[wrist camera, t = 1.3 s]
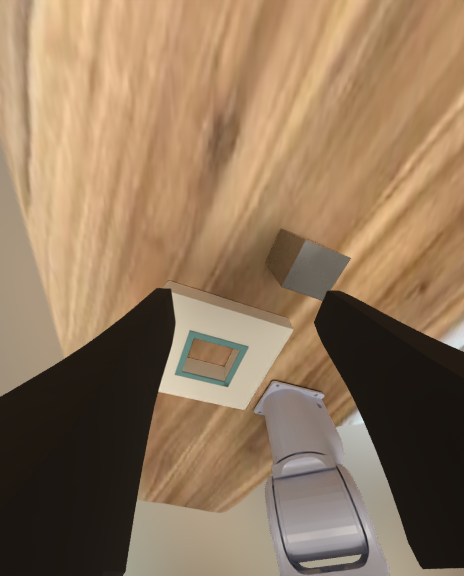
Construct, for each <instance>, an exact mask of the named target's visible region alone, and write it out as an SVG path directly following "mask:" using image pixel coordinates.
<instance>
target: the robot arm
mask: <svg viewBox="0 0 464 576" xmlns="http://www.w3.org/2000/svg"><path fill="white" fill-rule="evenodd" d="M314 324H315V327H316V329H317V332H318V334H319V337H320V339H321V341H322V343H323V345H324V347H325V349H326V351H327V352H328V354H329V356H330V358H331V359H332V361H333V363H334V365H335V366H336V368H337V370H338V372H339V373H340V375H341V377H342V378H343V380H344V382H345V384H346V385H347V387H348V389H349V391H350V393H351V395H352V397H353V399H354V401H355V403H356V405H357V408H358V410H359V412H360V414H361V416H362V418H363V421H364V423H365V425H366V428H367V430H368V432H369V435H370V437H371V440H372V442H373V444H374V447H375V449H376V452H377V454H378V457H379V460H380V462H381V465H382V467H383V470H384V473H385V475H386V478H387V480H388V483H389V486H390V489H391V492H392V494H393V497H394V501H395V503H396V506H397V509H398V512H399V515H400V518H401V521H402V524H403V527H404V531H405V534H406V537H407V540H408V543H409V545H410V547H411V549H412V551H413V553H414V555H415V557H416V559H417V561H418V562H419V565H420V566H421V567H422V568H423V569H443V568H464V352H463V351H460V350H458V349H456V348H453V347H451V346H449V345H447V344H444V343H442V342H440V341H438V340H436V339H433V338H431V337H429V336H427V335H425V334H423V333H421V332H419V331H417V330H415V329H413V328H411V327H409V326H407V325H405V324H403V323H401V322H399V321H397V320H395V319H394V318H392V317H390V316H388V315H386V314H384V313H382V312H380V311H379V310H377V309H375V308H373V307H371V306H369V305H367V304H366V303H364V302H362V301H360V300H358V299H356V298H354V297H352V296H350V295H348V294H346V293H344V292H341V291H327V292H326V294H325V297H324V299H323V302H322V304H321V307H320V309H319V311H318V314H317V316H316V319H315V321H314ZM175 325H176V320H175V313H174V305H173V298H172V291H171V288H157V289H155V290H154V291H153V292H152V293H151V294H149V295H148V296H147V297H146V298H145V299H144V300H142V301H141V302H140V303H139V304H138V305H137V306H135V307H134V308H133V309H132V310H131V311H129V312H128V313H127V314H126V315H125V316H124V317H122V318H121V319H120V320H118V321H117V322H116V323H114V324H113V325H112V326H111V327H109V328H108V329H107V330H105V331H104V332H103V333H101V334H100V335H99V336H97V337H96V338H95V339H93V340H92V341H90V342H89V343H88V344H86V345H85V346H83V347H82V348H80V349H79V350H77V351H76V352H74V353H73V354H71V355H70V356H68V357H66V358H65V359H63V360H62V361H60V362H59V363H57V364H55V365H54V366H52V367H50V368H49V369H47V370H46V371H44V372H42V373H40V374H39V375H37V376H35V377H33V378H32V379H30V380H29V381H27V382H25V383H23V384H22V385H20V386H18V387H16V388H15V389H13V390H12V391H10V392H8V393H6V394H4V395H3V396H1V397H0V576H123V574H124V573H125V571H126V564H127V557H128V551H129V544H130V538H131V532H132V525H133V519H134V512H135V507H136V501H137V495H138V489H139V484H140V478H141V472H142V467H143V461H144V456H145V451H146V445H147V440H148V435H149V430H150V425H151V420H152V415H153V410H154V405H155V402H156V398H157V394H158V390H159V387H160V384H161V380H162V377H163V374H164V370H165V367H166V364H167V360H168V357H169V354H170V350H171V347H172V343H173V338H174V332H175ZM323 397H324V394H323V393H322V392H318V391H314V390H310V389H306V388H302V387H298V386H294V385H290V384H286V383H282V382H278V381H272V382H271V384H270V385H269V387H268V388H267V390H266V391H265V393H264V395H263V396H262V398H261V399H260V401H259V402H258V404H257V405H256V407H255V409H254V413H256V414H260V415H265V420H266V425H267V431H268V437H269V442H270V448H271V454H272V459H273V465H272V466H271V468H272V474H273V476H269V477H268V479H267V482H266V485H265V498H266V508H267V515H268V521H269V527H270V532H271V537H272V541H273V545H274V549H275V552H276V556H277V562H278V567H279V573H280V576H390V575H389V573H390V569H389V566H388V563H387V561H386V559H385V556H384V554H383V552H382V549H381V546H380V544H379V541H378V537H377V534H376V531H375V528H374V525H373V522H372V520H371V517H370V515H369V512H368V510H367V507H366V505H365V502H364V500H363V498H362V496H361V494H360V491H359V490H358V487H357V485H356V483H355V481H354V479H353V477H352V475H351V474H350V472H349V471H348V470H347V469H346V468H345V467H343V466H342V465H343V462H344V450H343V445H342V441H341V438H340V436H339V434H338V432H337V430H336V427H335V425H334V423H333V421H332V419H331V417H330V415H329V413H328V411H327V409H326V407H325V405H324V403H323V401H322V398H323ZM359 554H362V555H361V557H360V559H359V560H358V561H356V562H354V563H347V564H340V565H332V566H324V567H316V568H306V567H303V566H301V565H300V564H299V563H300V562H307V561H315V560H322V559H329V558H337V557H345V556H352V555H359Z"/></svg>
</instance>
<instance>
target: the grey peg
mask: <svg viewBox="0 0 464 576" xmlns="http://www.w3.org/2000/svg"><path fill="white" fill-rule="evenodd" d="M350 259H351V258H350V257H347V256H345V255H343V254H341V253H338V252H336V251H334V250H332V249H329V248H327V247H325V246H323V245H320V244H318V243H316V242H314V241H311V240H309V239H306V238H304V237H301V236H299V235H296V234H294V233H291V232H289V231H286V230H284V229H280V232H279V234H278V236H277V238H276V240H275V242H274V245H273V247H272V249H271V251H270V253H269V256H268V258H267V260H266V264H267V265H268V267H269V268H270V270H271V271H272V273H273V274H274V276H275V277H276V279H277V281H278V282H279V284H280V285H281V287H284V288H287V289H290V290H293V291H295V292H298V293H301V294H304V295H307V296H310V297H313V298H316V299H319V300H321V301H323V299H324V297H325V294H326V292H327V291H330V290H331V289H332V287H333V286H334V284H335V282H336V281H337V279H338V278H339V276H340V275H341V273H342V272H343V270H344V268H345V267H346V265H347V264H348V262H349V261H350Z"/></svg>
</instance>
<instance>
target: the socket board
mask: <svg viewBox="0 0 464 576" xmlns="http://www.w3.org/2000/svg"><path fill="white" fill-rule="evenodd" d="M163 288H171V291H172V298H173V305H174V313H175V320H176V325H175V332H174V338H173V343H172V347H171V350H170V354H169V357H168V360H167V364H166V367H165V370H164V374H163V377H162V380H161V384H160V387H159V390H158V392H163V393H167V394H172V395H177V396H181V397H186V398H191V399H195V400H200V401H204V402H209V403H214V404H218V405H223V406H227V407H232V408H237V409H241V410H245V408H246V407H247V405H248V403H249V402H250V400H251V399H252V397H253V395H254V394H255V392H256V390H257V389H258V387H259V386H260V384H261V382H262V381H263V379H264V377H265V376H266V374H267V373H268V371H269V369H270V368H271V366H272V364H273V363H274V361H275V360H276V358H277V356H278V355H279V353H280V351H281V350H282V348H283V346H284V345H285V343H286V342H287V340H288V338H289V337H290V335H291V333H292V332H293V330H294V329H293V327H292V325H291V323H290V321H289V320H288V318H286V317H283V316H279V315H276V314H273V313H270V312H267V311H264V310H261V309H257V308H254V307H251V306H248V305H245V304H242V303H238V302H235V301H232V300H229V299H226V298H223V297H220V296H216V295H213V294H210V293H207V292H204V291H201V290H197V289H194V288H191V287H188V286H185V285H182V284H179V283H175V282H172V281H169V280H168V281H167V283H166V284H165V285H164V287H163ZM194 338H196V339H200V340H203V341H207V342H211V343H214V344H218V345H222V346H225V347H229V348H233V350H232V353H231V355H230V357H229V359H228V361H227V363H226V365H225V367H224V366H220V365H216V364H212V363H208V362H204V361H200V360H196V359H192V358H188V357H187V356H188V354H189V351H190V348H191V345H192V342H193V340H194Z"/></svg>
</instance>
